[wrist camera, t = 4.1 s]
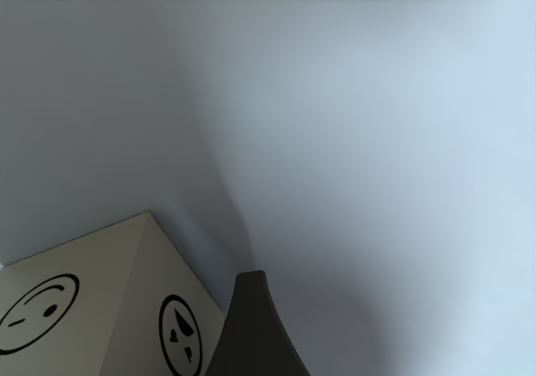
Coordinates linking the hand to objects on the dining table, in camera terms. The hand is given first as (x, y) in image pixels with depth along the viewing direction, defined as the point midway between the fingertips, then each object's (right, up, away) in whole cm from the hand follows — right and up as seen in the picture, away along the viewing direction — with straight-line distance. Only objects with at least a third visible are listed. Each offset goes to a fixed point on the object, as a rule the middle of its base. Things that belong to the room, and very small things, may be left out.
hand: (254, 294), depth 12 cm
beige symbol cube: (-4, 0, +1) cm, 5 cm away
